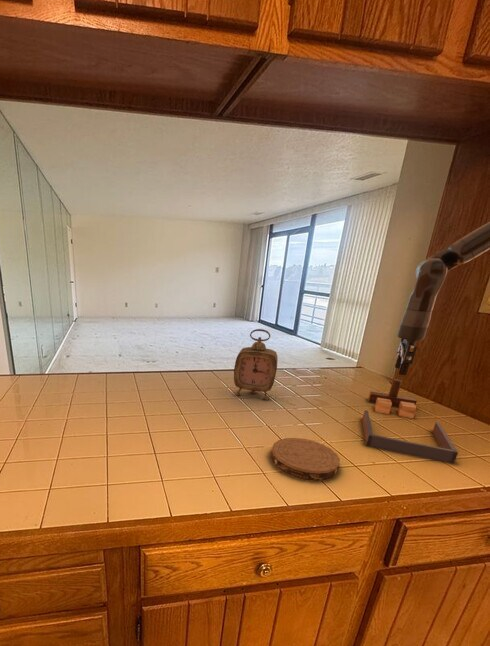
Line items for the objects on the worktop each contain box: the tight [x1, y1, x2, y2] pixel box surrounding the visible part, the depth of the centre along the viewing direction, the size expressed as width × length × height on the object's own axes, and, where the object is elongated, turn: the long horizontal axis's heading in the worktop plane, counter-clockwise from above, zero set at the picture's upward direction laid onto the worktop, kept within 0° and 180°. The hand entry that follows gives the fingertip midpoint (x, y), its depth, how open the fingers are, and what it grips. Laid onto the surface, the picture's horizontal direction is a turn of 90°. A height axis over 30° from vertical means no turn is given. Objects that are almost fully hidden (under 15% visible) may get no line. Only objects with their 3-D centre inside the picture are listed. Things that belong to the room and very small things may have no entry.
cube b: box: [397, 401, 417, 419], centre depth 116 cm, size 4×4×4 cm
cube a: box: [374, 398, 393, 415], centre depth 118 cm, size 4×4×4 cm
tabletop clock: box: [233, 328, 279, 401], centre depth 126 cm, size 14×9×25 cm, turn 70°
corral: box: [361, 410, 459, 464], centre depth 100 cm, size 19×20×4 cm
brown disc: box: [270, 437, 340, 483], centre depth 87 cm, size 16×16×3 cm
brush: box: [367, 378, 418, 408], centre depth 123 cm, size 14×3×10 cm, turn 65°
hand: (399, 371), depth 120 cm, fingers open, 8 cm apart
